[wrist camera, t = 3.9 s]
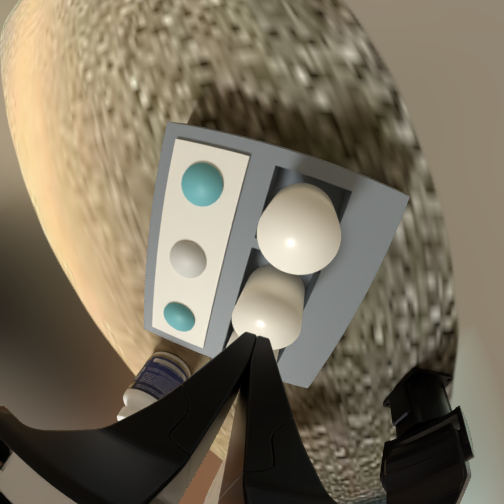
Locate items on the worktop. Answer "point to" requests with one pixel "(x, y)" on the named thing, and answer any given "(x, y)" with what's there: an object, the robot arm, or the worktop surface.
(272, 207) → the button
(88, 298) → the worktop surface
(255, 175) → the button board
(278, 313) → the button
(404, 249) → the worktop surface
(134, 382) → the pill bottle
